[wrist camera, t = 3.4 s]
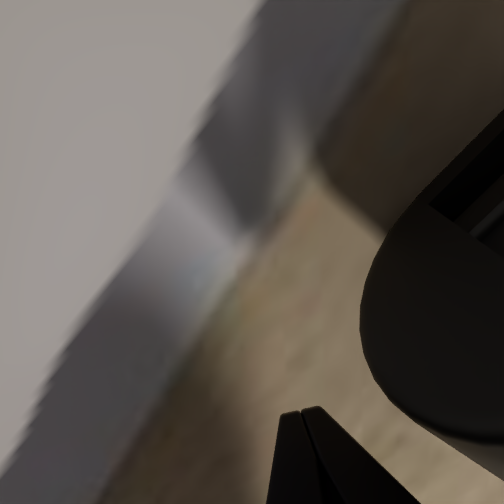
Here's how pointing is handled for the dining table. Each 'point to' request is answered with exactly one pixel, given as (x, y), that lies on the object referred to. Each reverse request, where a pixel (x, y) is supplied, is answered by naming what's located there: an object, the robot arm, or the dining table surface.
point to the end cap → (446, 305)
